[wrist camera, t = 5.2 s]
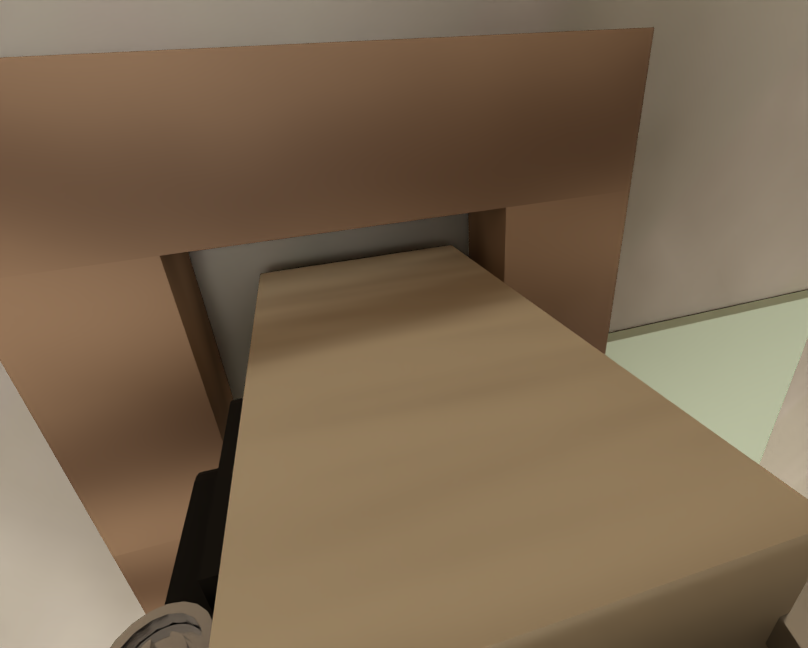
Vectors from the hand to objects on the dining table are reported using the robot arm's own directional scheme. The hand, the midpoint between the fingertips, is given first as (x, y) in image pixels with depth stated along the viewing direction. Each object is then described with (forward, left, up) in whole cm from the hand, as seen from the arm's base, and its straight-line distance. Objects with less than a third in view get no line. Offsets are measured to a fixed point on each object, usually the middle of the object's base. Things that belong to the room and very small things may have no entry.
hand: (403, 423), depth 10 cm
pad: (+8, +15, -5) cm, 18 cm away
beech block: (0, 0, -4) cm, 4 cm away
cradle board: (0, 0, -5) cm, 5 cm away
